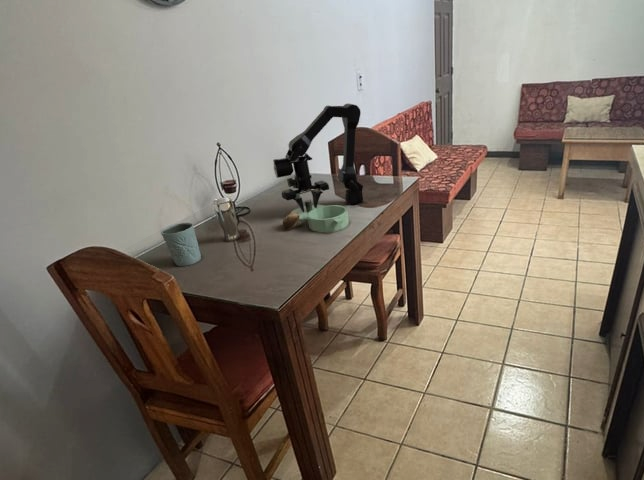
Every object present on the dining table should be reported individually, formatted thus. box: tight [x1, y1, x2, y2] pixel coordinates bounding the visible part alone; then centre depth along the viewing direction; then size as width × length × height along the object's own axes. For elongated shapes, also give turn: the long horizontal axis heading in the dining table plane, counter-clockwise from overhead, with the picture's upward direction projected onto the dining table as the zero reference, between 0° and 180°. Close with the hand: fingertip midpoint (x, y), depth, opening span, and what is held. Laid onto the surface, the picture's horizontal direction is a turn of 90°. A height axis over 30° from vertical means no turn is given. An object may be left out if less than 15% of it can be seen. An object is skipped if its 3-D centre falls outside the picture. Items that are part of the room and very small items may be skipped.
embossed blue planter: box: [160, 222, 202, 267], centre depth 143 cm, size 10×10×12 cm
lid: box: [289, 199, 325, 221], centre depth 173 cm, size 16×16×6 cm
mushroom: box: [282, 213, 302, 231], centre depth 161 cm, size 8×8×6 cm
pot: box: [307, 204, 350, 234], centre depth 161 cm, size 15×21×5 cm
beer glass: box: [212, 196, 242, 243], centre depth 156 cm, size 7×7×15 cm
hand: (309, 210), depth 174 cm, fingers open, 5 cm apart
